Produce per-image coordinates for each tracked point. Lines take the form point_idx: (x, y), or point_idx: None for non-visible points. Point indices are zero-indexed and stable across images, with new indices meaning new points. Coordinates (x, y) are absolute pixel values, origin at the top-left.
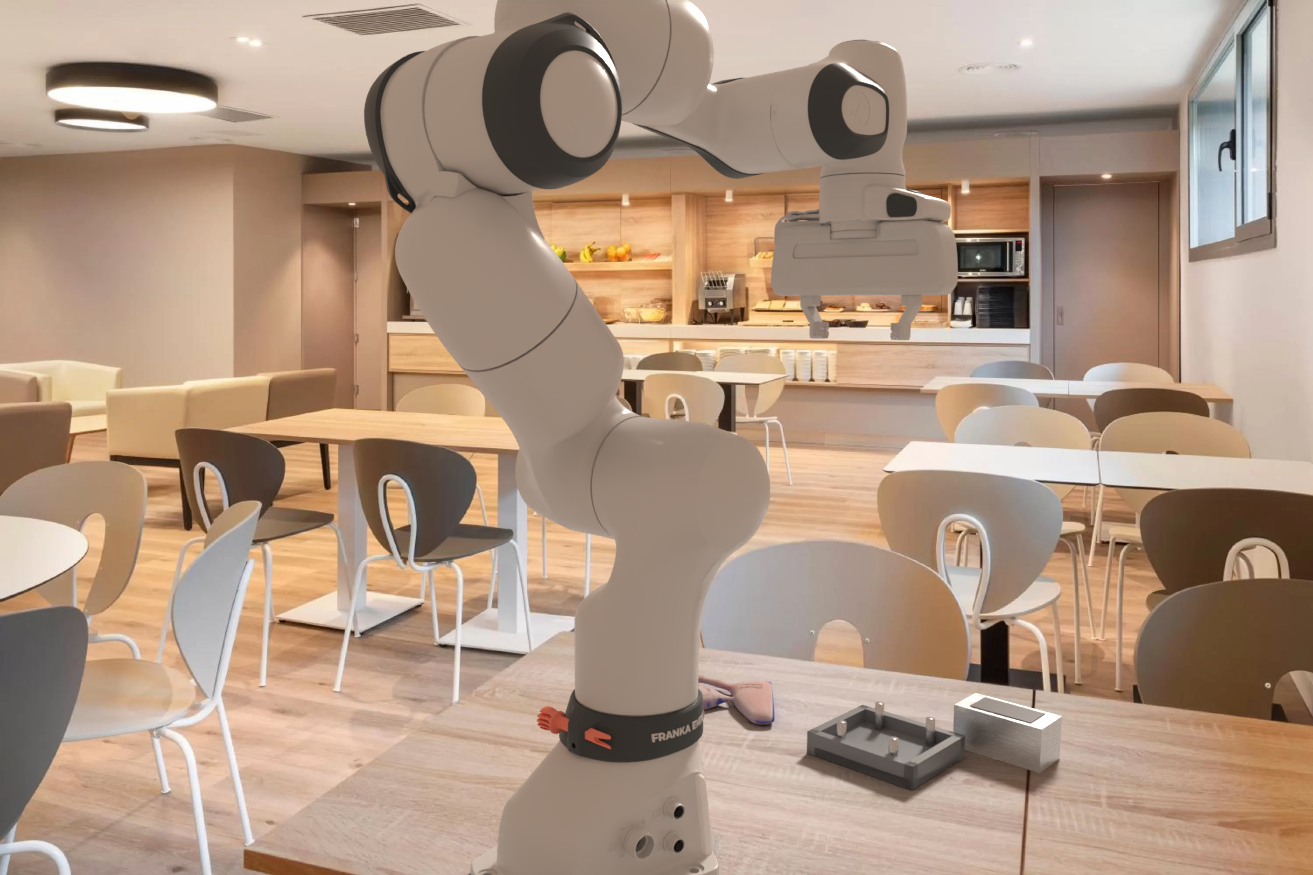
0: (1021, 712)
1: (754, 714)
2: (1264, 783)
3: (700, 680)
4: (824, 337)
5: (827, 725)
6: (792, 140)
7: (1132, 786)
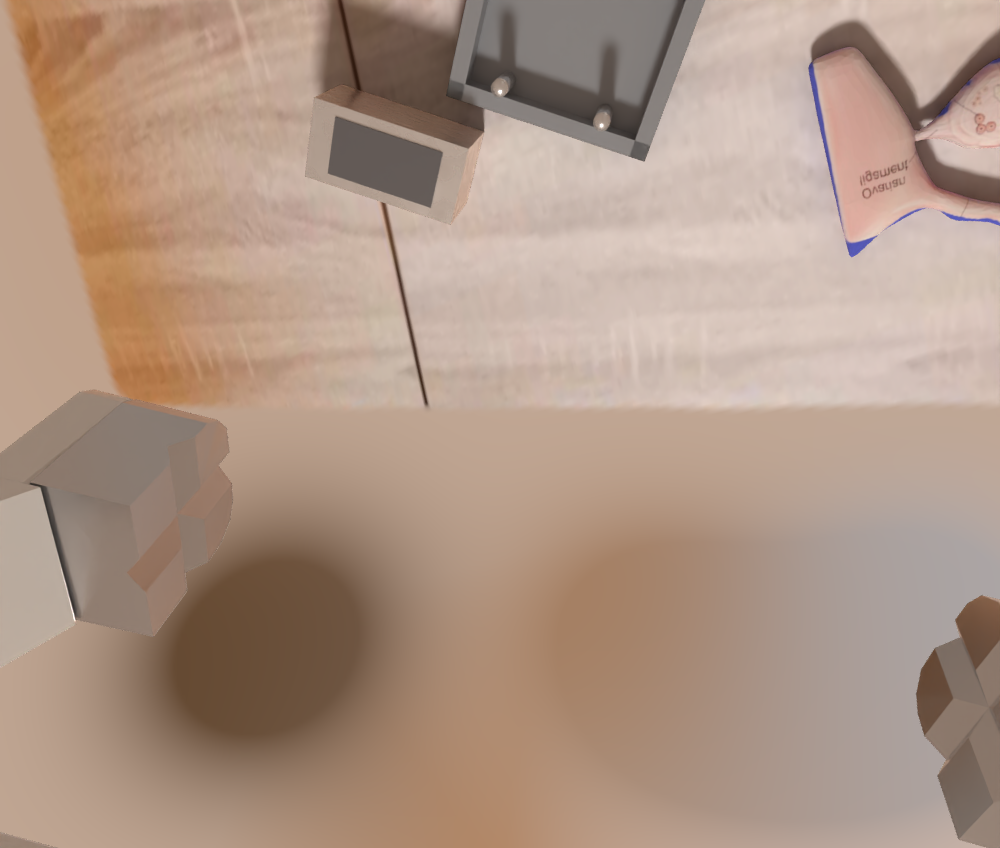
0: (360, 159)
1: (853, 54)
2: (98, 196)
3: None
4: (954, 651)
5: (686, 16)
6: None
7: (222, 100)
